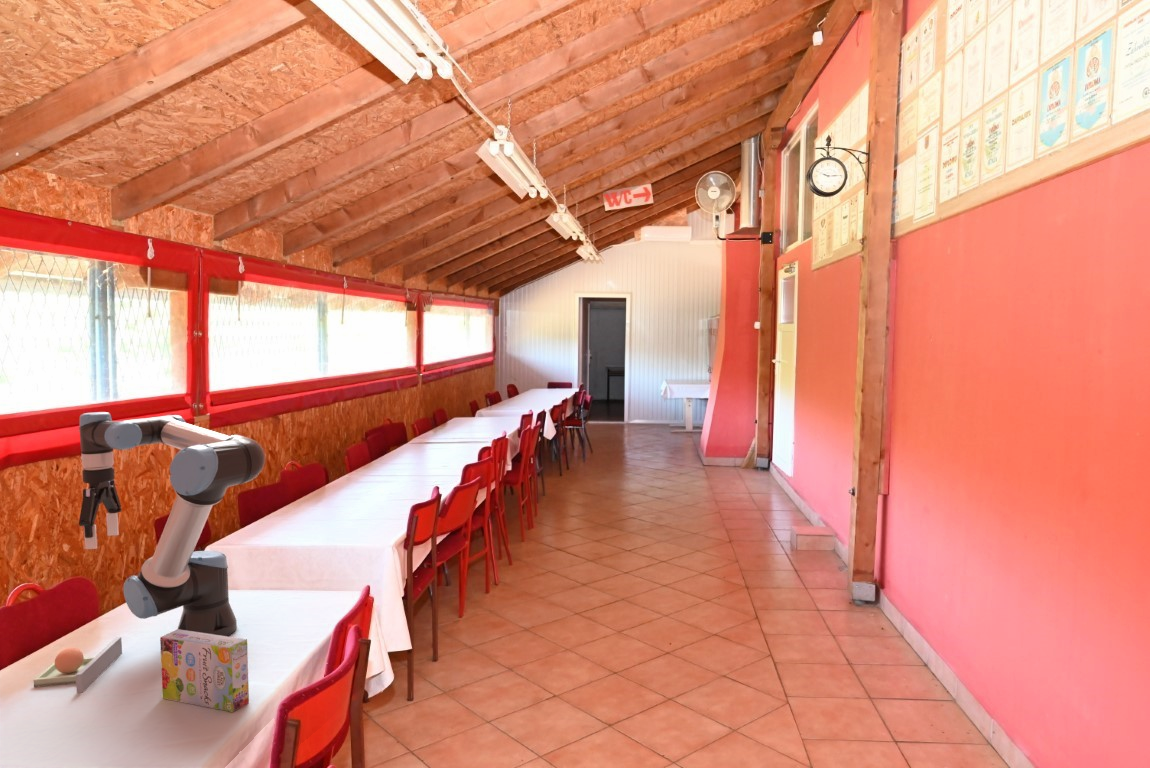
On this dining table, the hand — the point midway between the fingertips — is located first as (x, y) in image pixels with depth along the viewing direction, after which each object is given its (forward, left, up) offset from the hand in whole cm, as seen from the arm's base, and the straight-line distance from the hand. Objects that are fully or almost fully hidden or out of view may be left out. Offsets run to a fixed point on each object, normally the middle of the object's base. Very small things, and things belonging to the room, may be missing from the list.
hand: (102, 541), depth 208 cm
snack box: (-40, +47, -27) cm, 67 cm away
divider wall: (-9, +26, -27) cm, 38 cm away
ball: (-2, +26, -23) cm, 35 cm away
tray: (-2, +26, -27) cm, 37 cm away
